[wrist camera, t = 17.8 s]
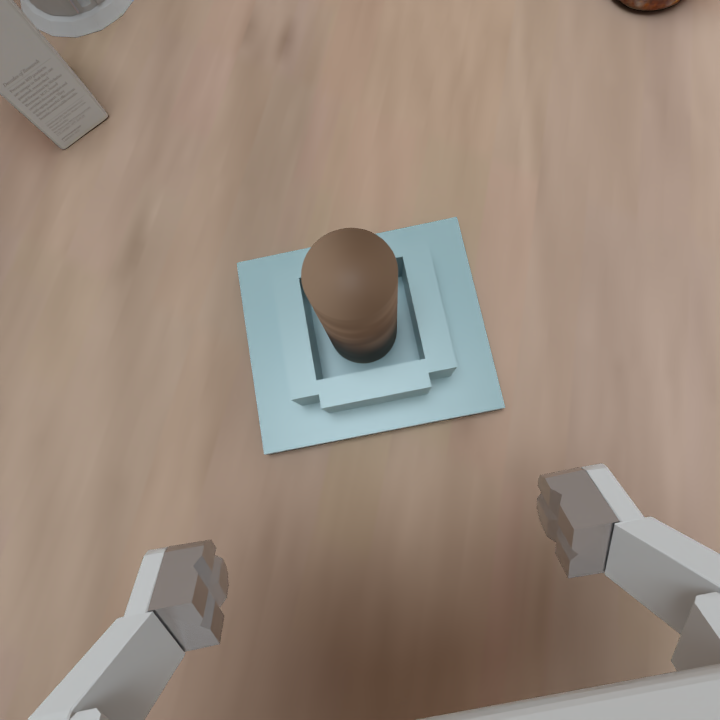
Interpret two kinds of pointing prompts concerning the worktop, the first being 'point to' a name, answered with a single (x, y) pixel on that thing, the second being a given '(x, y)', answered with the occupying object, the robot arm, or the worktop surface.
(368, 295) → the brown cylinder
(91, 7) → the french press
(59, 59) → the skincare box
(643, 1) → the sauce bottle
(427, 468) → the worktop surface
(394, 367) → the holder
